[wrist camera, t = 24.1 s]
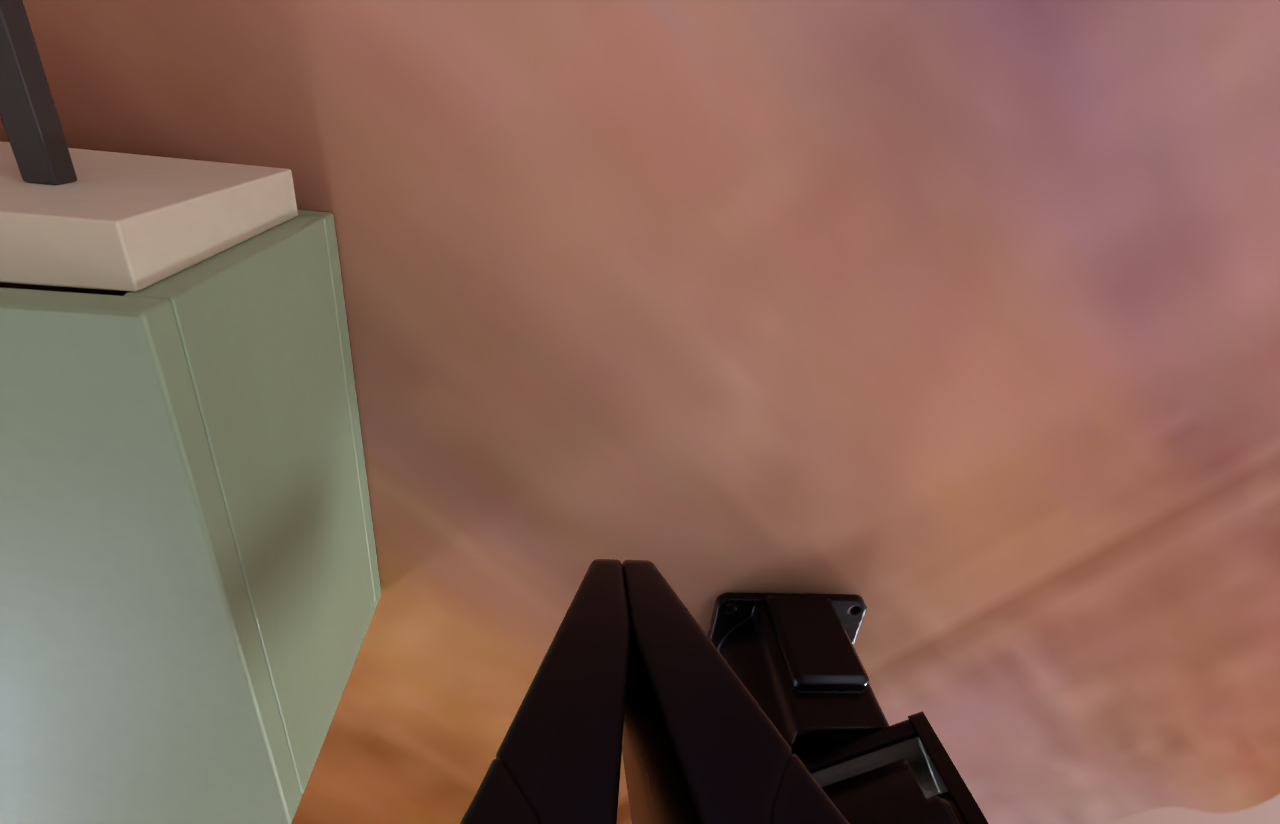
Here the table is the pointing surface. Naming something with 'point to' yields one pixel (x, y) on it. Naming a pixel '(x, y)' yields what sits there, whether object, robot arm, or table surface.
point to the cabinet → (180, 538)
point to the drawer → (110, 193)
